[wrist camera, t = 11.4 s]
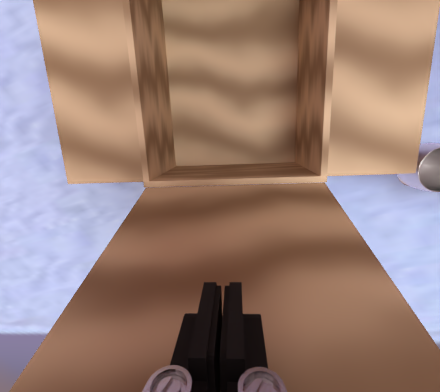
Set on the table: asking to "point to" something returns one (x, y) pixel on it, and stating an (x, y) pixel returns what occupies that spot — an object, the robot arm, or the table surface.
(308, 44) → the carton
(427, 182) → the goblet set
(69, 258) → the table surface
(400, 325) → the lid flap
